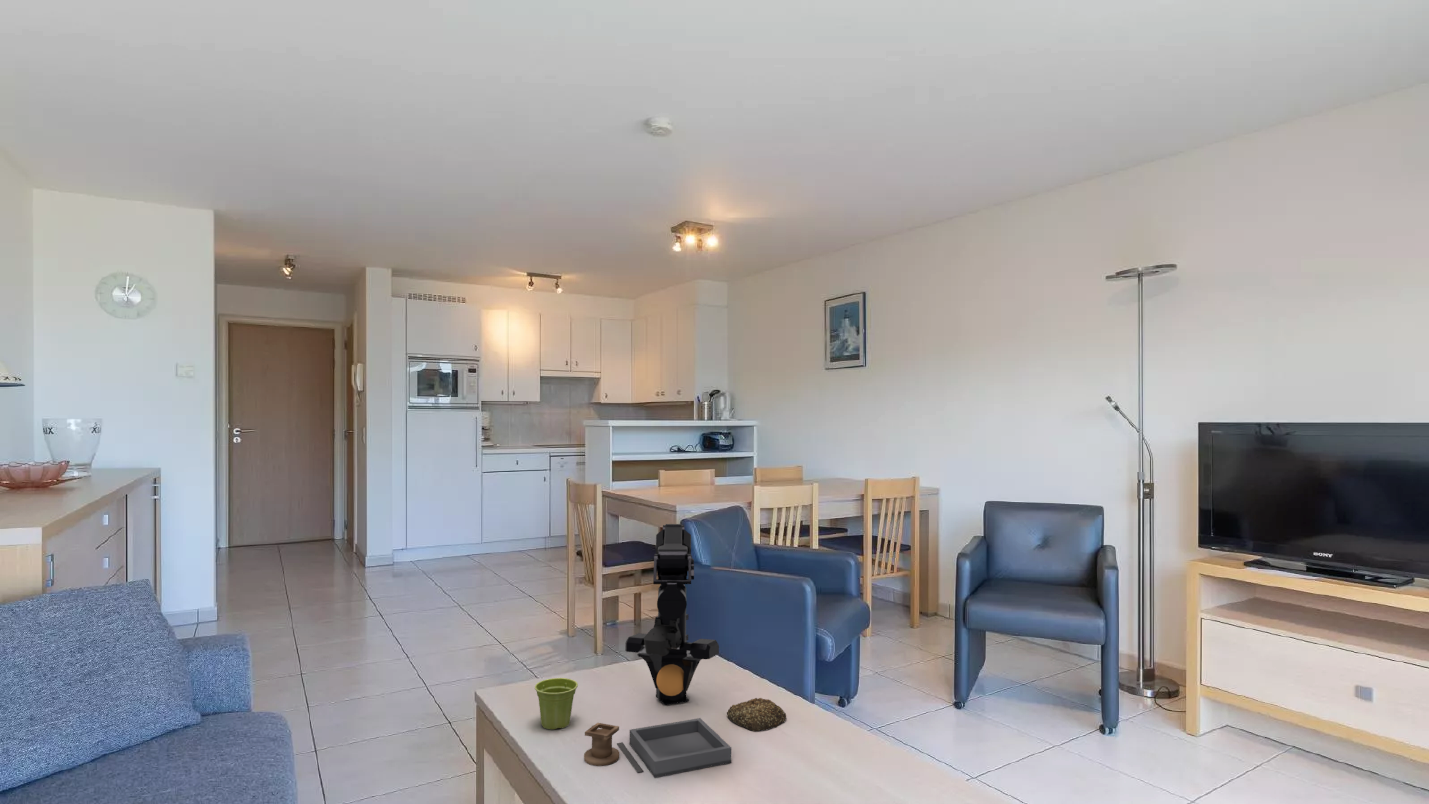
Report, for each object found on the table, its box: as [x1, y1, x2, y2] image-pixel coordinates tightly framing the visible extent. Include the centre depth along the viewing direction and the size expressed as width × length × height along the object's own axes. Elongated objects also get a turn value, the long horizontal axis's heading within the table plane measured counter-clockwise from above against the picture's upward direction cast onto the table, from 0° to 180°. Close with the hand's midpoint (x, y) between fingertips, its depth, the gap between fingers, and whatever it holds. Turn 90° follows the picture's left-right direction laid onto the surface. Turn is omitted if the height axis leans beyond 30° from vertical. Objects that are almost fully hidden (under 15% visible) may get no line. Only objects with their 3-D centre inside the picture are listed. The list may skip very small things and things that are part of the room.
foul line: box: [616, 741, 644, 774], centre depth 151 cm, size 1×14×1 cm, turn 24°
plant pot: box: [534, 677, 579, 730], centre depth 167 cm, size 9×9×9 cm
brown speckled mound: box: [726, 697, 787, 732], centre depth 171 cm, size 13×12×5 cm
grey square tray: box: [628, 717, 732, 779], centre depth 153 cm, size 16×16×3 cm
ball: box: [656, 664, 684, 696], centre depth 153 cm, size 6×6×6 cm
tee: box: [583, 722, 620, 767], centre depth 151 cm, size 7×7×6 cm
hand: (671, 689), depth 153 cm, fingers closed on ball, 6 cm apart
